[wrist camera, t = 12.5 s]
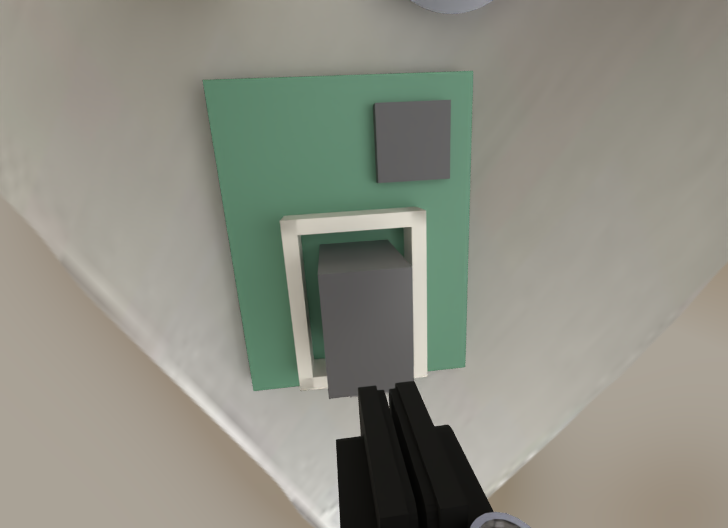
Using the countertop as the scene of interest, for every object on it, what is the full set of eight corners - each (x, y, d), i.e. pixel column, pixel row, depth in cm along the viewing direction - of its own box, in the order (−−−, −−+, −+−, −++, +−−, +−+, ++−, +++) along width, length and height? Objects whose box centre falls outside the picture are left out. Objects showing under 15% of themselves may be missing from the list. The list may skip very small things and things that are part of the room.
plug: (319, 244, 20) (317, 274, 14) (387, 239, 20) (412, 267, 15) (328, 349, 22) (330, 413, 16) (390, 343, 22) (414, 403, 17)
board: (211, 86, 19) (187, 68, 15) (462, 77, 20) (490, 59, 17) (257, 377, 24) (246, 412, 20) (457, 355, 25) (477, 384, 21)
